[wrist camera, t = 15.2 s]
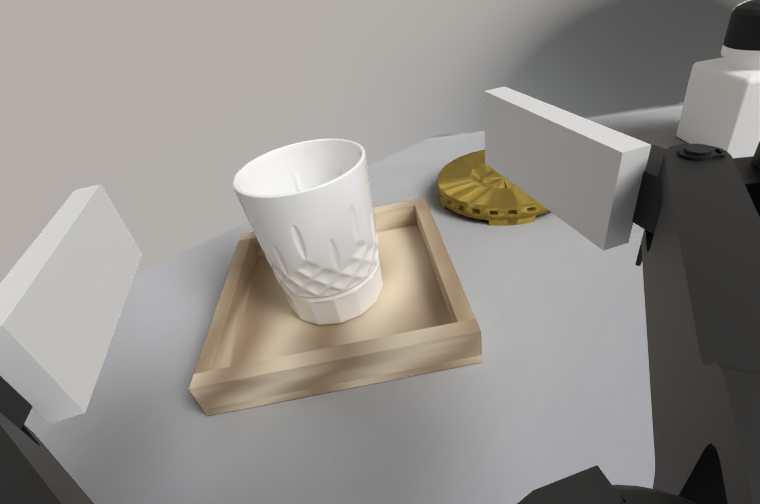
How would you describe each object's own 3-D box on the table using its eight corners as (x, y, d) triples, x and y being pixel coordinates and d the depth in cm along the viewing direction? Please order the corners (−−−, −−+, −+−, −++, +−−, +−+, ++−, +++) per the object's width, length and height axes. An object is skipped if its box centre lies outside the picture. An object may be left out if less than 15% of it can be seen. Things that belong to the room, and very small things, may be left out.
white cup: (368, 248, 34) (341, 128, 28) (410, 303, 28) (386, 164, 22) (274, 283, 32) (226, 163, 27) (297, 350, 26) (239, 212, 20)
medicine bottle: (810, 151, 36) (881, -12, 29) (721, 165, 36) (770, 8, 30) (749, 125, 41) (797, -16, 35) (674, 136, 42) (706, 0, 35)
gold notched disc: (599, 183, 38) (602, 161, 37) (520, 244, 32) (521, 220, 31) (491, 158, 46) (490, 139, 45) (414, 204, 41) (411, 183, 39)
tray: (207, 416, 24) (188, 388, 22) (251, 257, 37) (241, 234, 36) (482, 362, 24) (480, 331, 22) (427, 222, 37) (424, 197, 35)
